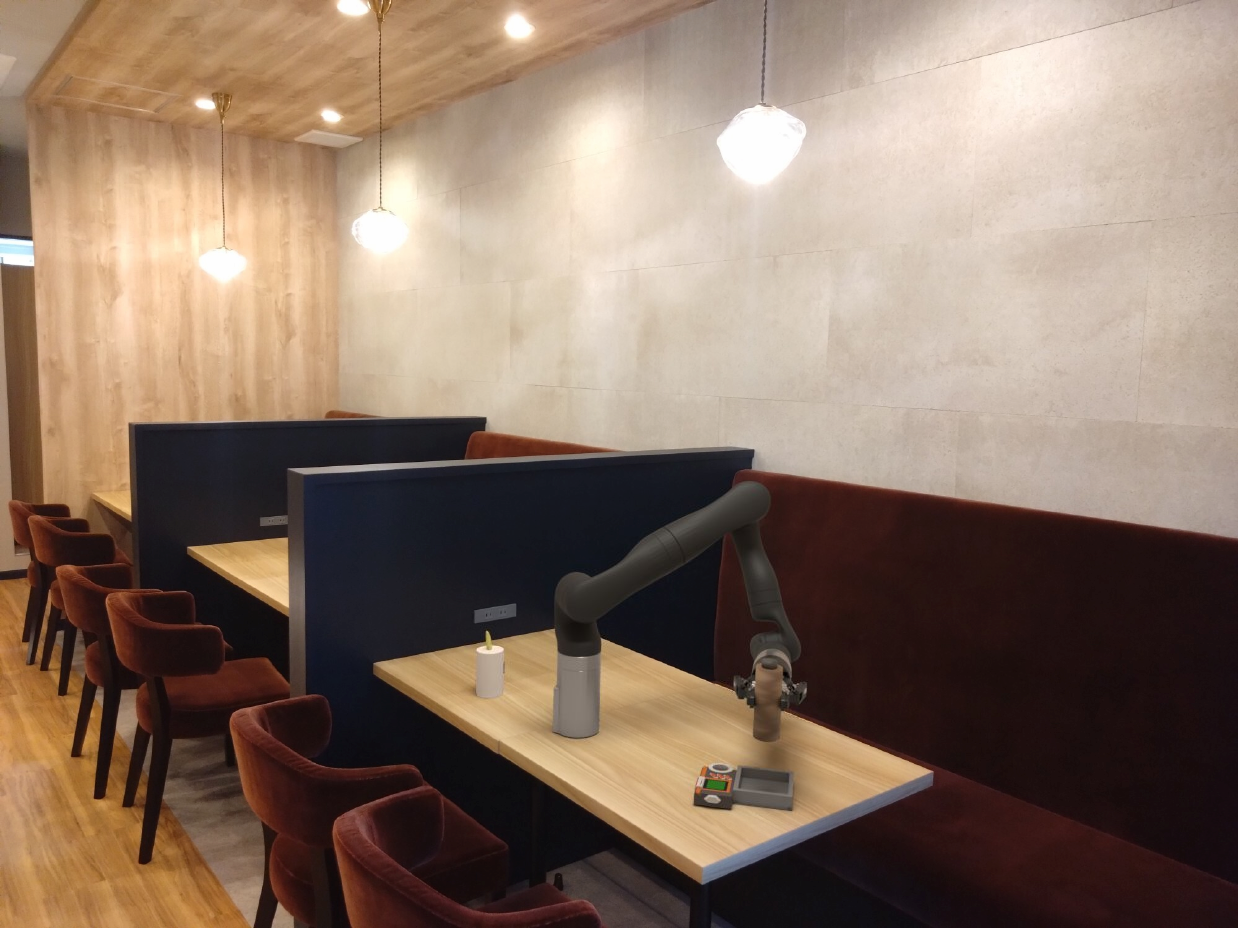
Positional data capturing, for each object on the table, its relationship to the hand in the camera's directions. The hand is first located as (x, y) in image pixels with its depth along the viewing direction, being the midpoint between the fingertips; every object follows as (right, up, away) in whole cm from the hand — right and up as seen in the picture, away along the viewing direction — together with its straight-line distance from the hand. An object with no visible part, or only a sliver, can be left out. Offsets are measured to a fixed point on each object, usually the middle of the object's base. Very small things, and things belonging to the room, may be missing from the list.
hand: (767, 704), depth 160 cm
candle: (-56, -11, +51) cm, 77 cm away
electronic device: (-8, -18, +6) cm, 20 cm away
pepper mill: (0, -7, +3) cm, 7 cm away
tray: (0, -17, +4) cm, 18 cm away
